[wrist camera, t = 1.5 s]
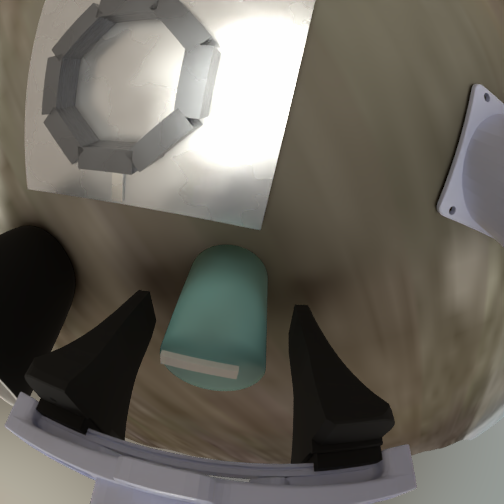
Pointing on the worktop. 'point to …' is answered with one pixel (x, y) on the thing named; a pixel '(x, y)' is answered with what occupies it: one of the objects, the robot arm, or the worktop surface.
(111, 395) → the robot arm
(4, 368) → the mug
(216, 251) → the knob
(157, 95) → the panel
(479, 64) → the worktop surface
